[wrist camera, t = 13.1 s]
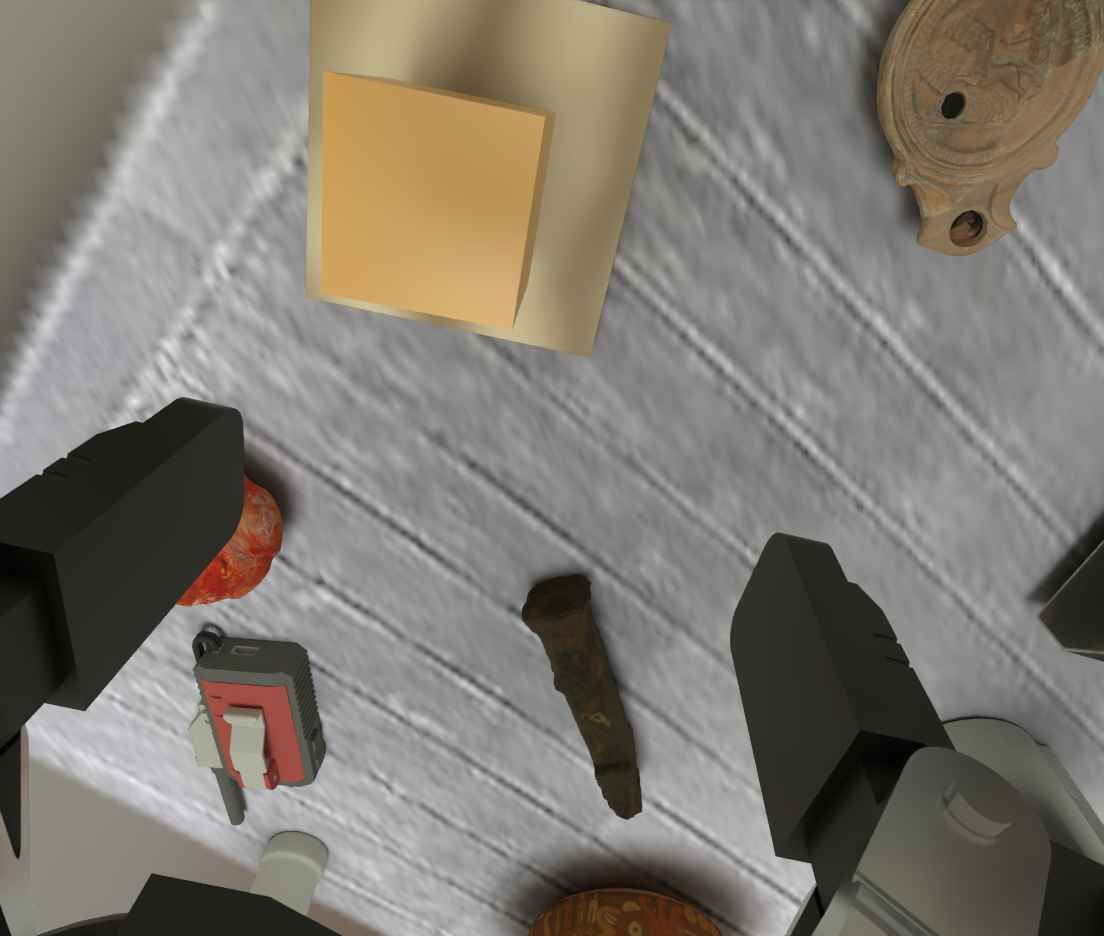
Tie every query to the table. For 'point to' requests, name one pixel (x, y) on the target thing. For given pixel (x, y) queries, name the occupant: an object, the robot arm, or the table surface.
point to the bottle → (291, 869)
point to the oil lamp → (982, 105)
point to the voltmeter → (1079, 609)
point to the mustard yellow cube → (430, 197)
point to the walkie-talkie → (255, 716)
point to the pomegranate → (242, 552)
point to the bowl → (622, 915)
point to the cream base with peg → (523, 79)
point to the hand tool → (587, 685)
